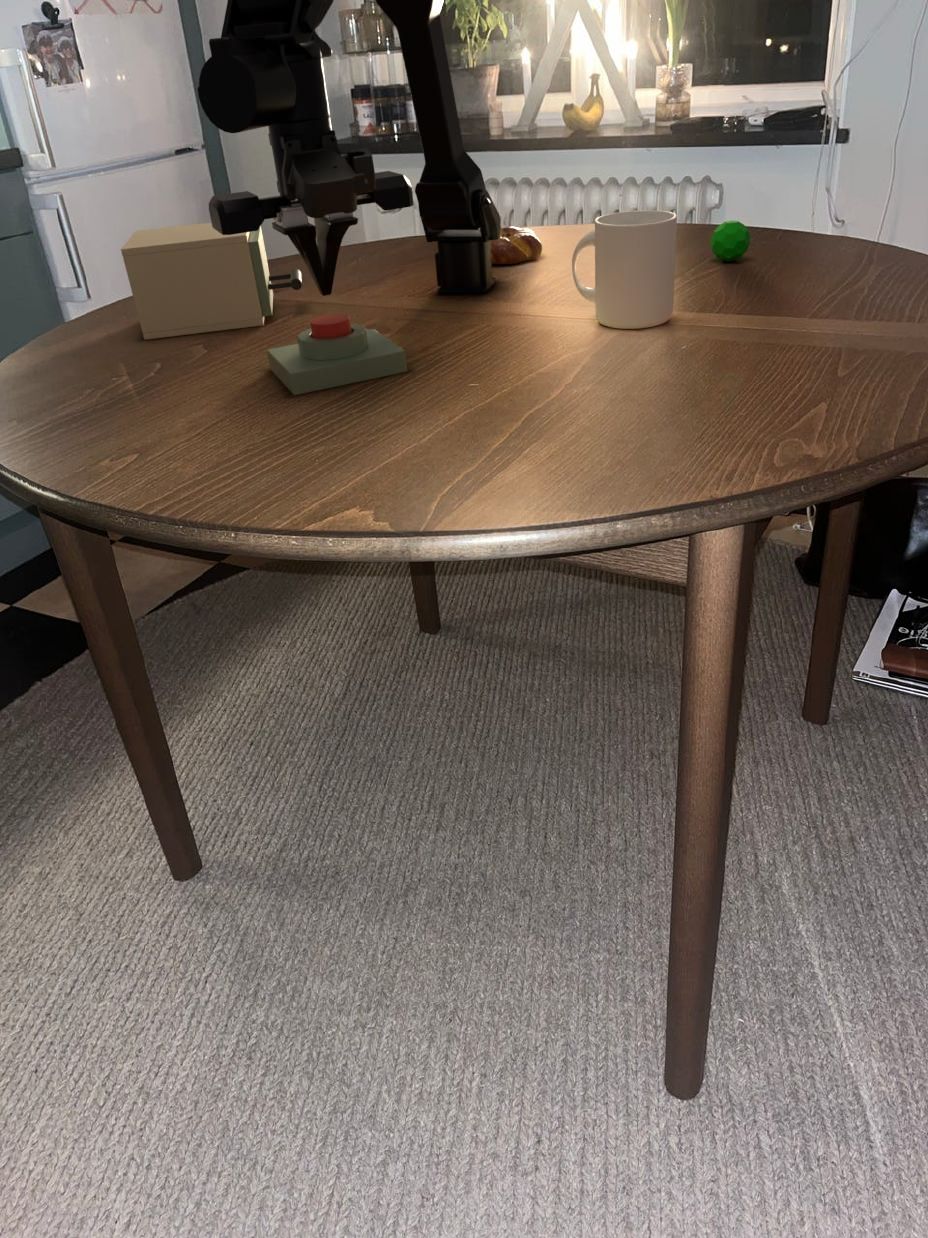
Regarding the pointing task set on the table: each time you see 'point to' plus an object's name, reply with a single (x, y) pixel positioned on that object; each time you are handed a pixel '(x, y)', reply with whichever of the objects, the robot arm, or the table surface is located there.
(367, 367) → the control block
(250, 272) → the tan box with sleeve
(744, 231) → the polyhedron
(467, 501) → the table surface
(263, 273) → the drawer
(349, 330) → the button
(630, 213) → the mug
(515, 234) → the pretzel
